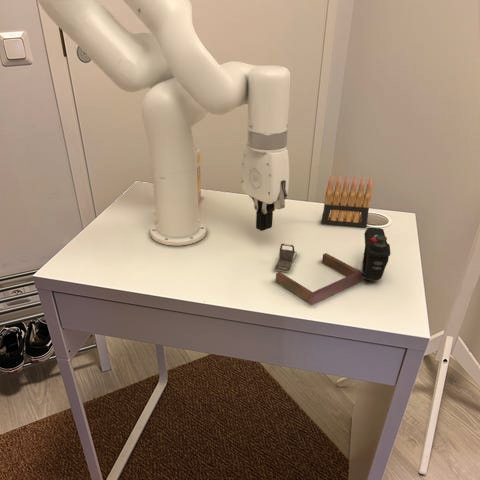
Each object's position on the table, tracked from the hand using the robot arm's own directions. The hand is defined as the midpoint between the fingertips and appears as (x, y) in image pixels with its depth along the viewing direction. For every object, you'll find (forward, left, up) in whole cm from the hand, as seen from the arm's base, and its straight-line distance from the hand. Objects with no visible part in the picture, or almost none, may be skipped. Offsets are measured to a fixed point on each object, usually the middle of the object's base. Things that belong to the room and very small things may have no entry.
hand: (264, 228), depth 100 cm
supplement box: (-31, +1, -5) cm, 31 cm away
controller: (+22, +10, -5) cm, 24 cm away
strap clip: (+8, 0, -5) cm, 9 cm away
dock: (+17, 0, -5) cm, 17 cm away
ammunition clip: (+2, +24, -5) cm, 24 cm away
